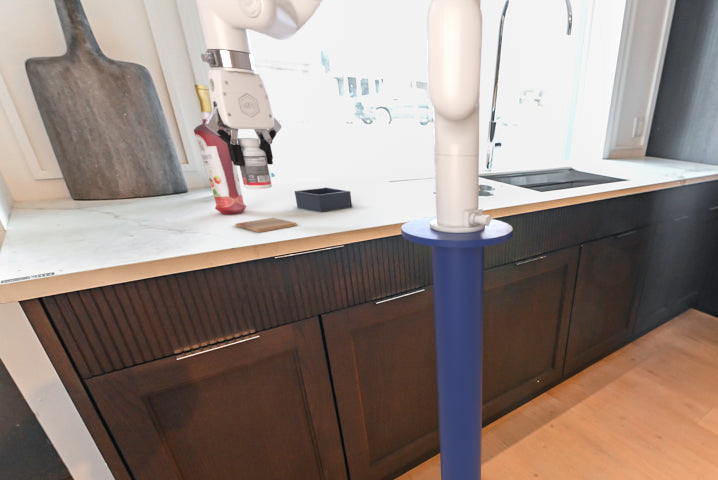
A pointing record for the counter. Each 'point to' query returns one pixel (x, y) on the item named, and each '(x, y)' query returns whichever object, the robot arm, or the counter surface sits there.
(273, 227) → the coaster
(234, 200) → the liquor
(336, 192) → the bin
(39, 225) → the counter surface
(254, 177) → the pill bottle
